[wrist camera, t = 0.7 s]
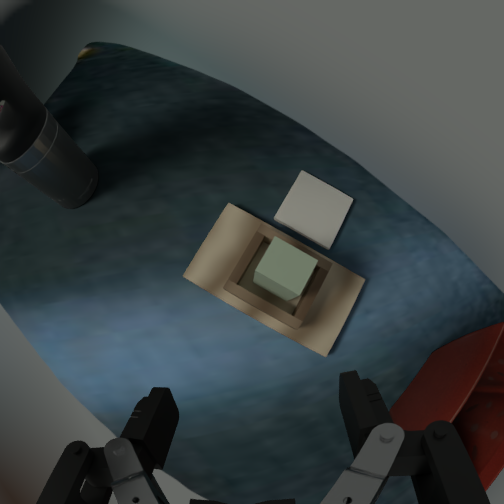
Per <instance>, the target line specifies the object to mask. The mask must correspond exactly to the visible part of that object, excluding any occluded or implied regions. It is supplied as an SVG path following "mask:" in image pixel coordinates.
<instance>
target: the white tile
mask: <svg viewBox="0 0 504 504" xmlns="http://www.w3.org/2000/svg"><path fill="white" fill-rule="evenodd" d="M352 201H353V198H351V197H349V196H347V195H346V194H344V193H342V192H341V191H339V190H337V189H335V188H334V187H332V186H330V185H328V184H326V183H325V182H323V181H321V180H319V179H317V178H316V177H314V176H312V175H310V174H308V173H306V172H304V171H301V172H300V174H299V176H298V178H297V179H296V181H295V183H294V184H293V186H292V188H291V190H290V191H289V193H288V195H287V196H286V198H285V200H284V201H283V203H282V205H281V207H280V208H279V210H278V212H277V213H276V215H275V217H274V220H275V221H277V222H279V223H281V224H283V225H285V226H286V227H288V228H290V229H292V230H293V231H295V232H297V233H299V234H301V235H302V236H304V237H306V238H308V239H309V240H311V241H313V242H315V243H317V244H318V245H320V246H322V247H324V248H325V249H327V250H329V249H330V247H331V245H332V243H333V241H334V239H335V237H336V235H337V233H338V231H339V229H340V227H341V225H342V222H343V220H344V218H345V216H346V214H347V212H348V210H349V208H350V205H351V203H352Z"/></svg>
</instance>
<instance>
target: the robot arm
mask: <svg viewBox="0 0 504 504" xmlns="http://www.w3.org/2000/svg"><path fill="white" fill-rule="evenodd" d="M1 101H5V102H4V105H3V108H2V110H1V112H0V161H1V162H2V163H4V164H5V165H6V166H8V167H9V168H10V169H12V170H13V171H14V172H16V173H17V174H18V175H20V176H21V177H22V178H24V179H25V180H26V181H28V182H29V183H30V184H32V185H33V186H34V187H36V188H37V189H39V190H40V191H41V192H43V193H44V194H46V195H47V196H48V197H50V198H51V199H52V200H54V201H55V202H57V203H58V204H60V205H61V206H63V207H64V208H67V209H73V208H77V207H79V206H81V205H82V204H84V203H85V202H86V201H87V200H88V199H89V198H90V197H91V195H92V194H93V192H94V191H95V189H96V186H97V183H98V170H97V168H96V166H95V165H94V164H93V163H92V162H91V160H90V159H89V158H88V157H87V156H86V155H85V153H84V152H83V151H82V150H81V149H80V148H79V147H78V145H77V144H76V143H75V142H74V141H73V140H72V139H71V137H70V136H69V135H68V134H67V133H66V131H65V130H64V129H63V128H62V127H61V126H60V124H59V123H58V122H57V121H56V120H55V119H54V117H53V116H52V115H51V114H50V112H49V111H48V110H47V109H46V108H45V106H44V105H43V104H42V103H41V102H40V100H39V99H38V98H37V97H36V96H35V94H34V93H33V92H32V91H31V89H30V88H29V87H28V85H27V84H26V83H25V81H24V80H23V78H22V77H21V76H20V74H19V73H18V71H17V69H16V68H15V66H14V65H13V63H12V61H11V60H10V58H9V56H8V55H7V53H6V52H5V50H4V49H3V47H2V46H1V44H0V102H1ZM339 403H340V409H341V412H342V416H343V419H344V423H345V426H346V430H347V434H348V437H349V441H350V445H351V448H352V452H353V456H354V462H353V463H352V465H351V466H350V467H349V468H346V469H345V470H344V472H343V473H342V474H341V476H340V477H339V479H338V480H337V482H336V483H335V484H334V486H333V487H332V489H331V490H330V491H329V493H328V494H327V495H326V497H325V498H324V499H323V501H322V502H321V503H320V504H375V502H376V501H377V499H378V497H379V495H380V494H381V492H382V490H383V488H384V486H385V484H386V482H387V480H388V479H389V477H390V476H408V475H410V476H411V479H412V482H413V486H414V489H415V493H416V496H417V500H418V503H419V504H490V502H489V499H488V497H487V494H486V492H485V489H484V487H483V485H482V483H481V480H480V478H479V476H478V474H477V471H476V469H475V467H474V465H473V463H472V461H471V459H470V456H469V454H468V452H467V450H466V448H465V446H464V444H463V442H462V440H461V438H460V436H459V434H458V433H457V431H456V429H455V427H454V425H453V424H451V423H450V422H448V421H444V420H438V421H434V422H432V423H430V424H429V425H428V426H427V427H426V429H425V430H416V431H407V430H403V429H402V428H401V427H400V426H398V425H396V424H394V422H393V420H392V418H391V416H390V414H389V412H388V409H387V407H386V405H385V403H384V401H383V400H382V397H381V394H380V393H379V390H378V388H377V386H376V384H375V383H373V382H372V381H371V380H370V379H363V380H360V378H359V376H358V373H357V371H356V370H354V371H349V372H344V373H340V377H339ZM178 421H179V411H178V408H177V405H176V403H175V401H174V398H173V396H172V393H171V391H170V389H169V388H166V387H153V388H152V390H151V392H150V394H149V396H148V397H143V398H142V399H141V400H140V401H139V402H138V403H137V405H136V407H135V409H134V412H132V414H131V418H129V420H128V422H127V424H126V426H125V428H124V430H123V432H122V434H121V436H120V438H115V439H112V440H110V441H109V442H108V443H107V444H106V445H105V447H100V448H90V447H89V446H88V445H87V444H86V443H85V442H83V441H74V442H72V443H70V444H69V445H67V447H66V448H65V450H64V452H63V453H62V455H61V457H60V459H59V461H58V463H57V465H56V466H55V468H54V470H53V472H52V474H51V476H50V477H49V479H48V481H47V483H46V485H45V487H44V489H43V491H42V493H41V495H40V497H39V499H38V501H37V503H36V504H108V503H109V500H110V497H111V494H112V491H113V492H114V494H115V497H116V499H117V502H118V504H169V502H168V501H167V499H166V497H165V495H164V494H163V492H162V490H161V488H160V487H159V485H158V483H157V481H156V480H155V477H154V476H153V474H152V473H153V470H154V469H160V470H163V467H164V463H165V460H166V457H167V454H168V451H169V448H170V445H171V442H172V439H173V436H174V433H175V430H176V427H177V424H178ZM84 479H86V481H85V483H84V485H83V488H82V490H81V492H80V488H81V486H82V484H83V481H84ZM190 504H226V503H222V502H218V501H210V500H196V499H190ZM256 504H295V498H294V499H284V500H270V501H265V502H260V503H256Z"/></svg>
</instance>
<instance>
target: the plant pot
mask: <svg viewBox="0 0 504 504" xmlns="http://www.w3.org/2000/svg"><path fill="white" fill-rule="evenodd" d="M389 414H390V416H391V418H392V420H393V422H394V424H396V425H398V426H400V427H401V428H402V429H403V430H407V431H416V430H425V429H426V427H427V426H428V425H429V424H430V423H432V422H434V421H438V420H444V421H448V422H450V423H451V424H453V425H454V427H455V429H456V431H457V433H458V434H459V436H460V438H461V440H462V442H463V444H464V446H465V448H466V450H467V452H468V454H469V456H470V459H471V461H472V463H473V465H474V467H475V469H476V471H477V474H478V476H479V478H480V480H481V483H482V485H483V487H484V489H485V491H486V490H487V489H488V488H489V486H490V485H491V484H492V483H493V481H494V480H495V479H496V477H497V476H498V475H499V473H500V472H501V470H502V469H503V468H504V322H501V323H498V324H495V325H492V326H489V327H486V328H483V329H480V330H477V331H475V332H472V333H469V334H467V335H465V336H463V337H460V338H458V339H456V340H454V341H452V342H450V343H448V344H446V345H444V346H442V347H441V348H439V349H437V350H435V351H434V352H432V354H431V355H430V356H429V358H428V359H427V361H426V362H425V364H424V365H423V367H422V368H421V370H420V371H419V372H418V374H417V375H416V377H415V378H414V379H413V381H412V382H411V383H410V385H409V386H408V387H407V389H406V390H405V391H404V393H403V394H402V395H401V396H400V398H399V399H398V400H397V401H396V403H395V404H394V405H393V406H392V408H391V409H390V411H389Z"/></svg>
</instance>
